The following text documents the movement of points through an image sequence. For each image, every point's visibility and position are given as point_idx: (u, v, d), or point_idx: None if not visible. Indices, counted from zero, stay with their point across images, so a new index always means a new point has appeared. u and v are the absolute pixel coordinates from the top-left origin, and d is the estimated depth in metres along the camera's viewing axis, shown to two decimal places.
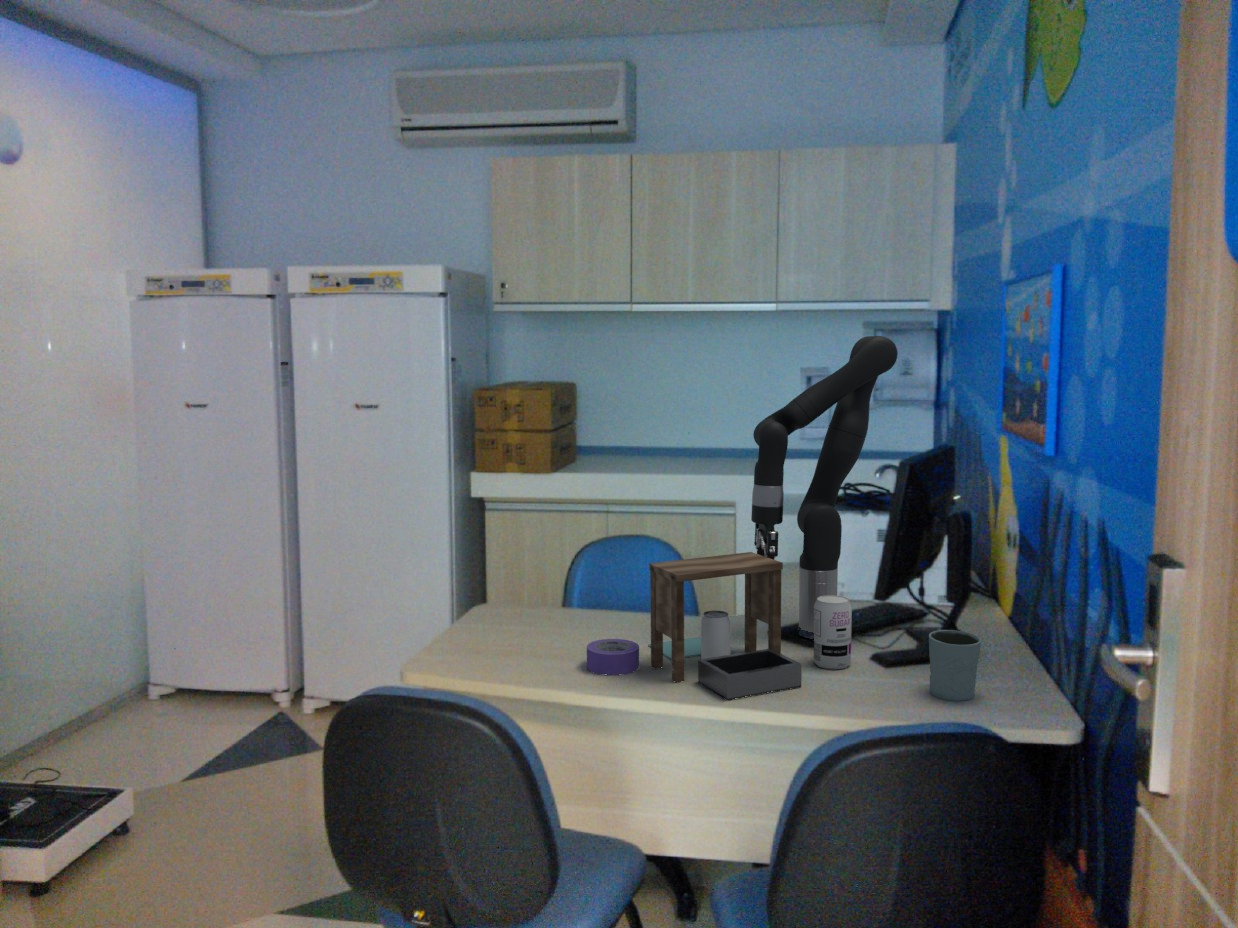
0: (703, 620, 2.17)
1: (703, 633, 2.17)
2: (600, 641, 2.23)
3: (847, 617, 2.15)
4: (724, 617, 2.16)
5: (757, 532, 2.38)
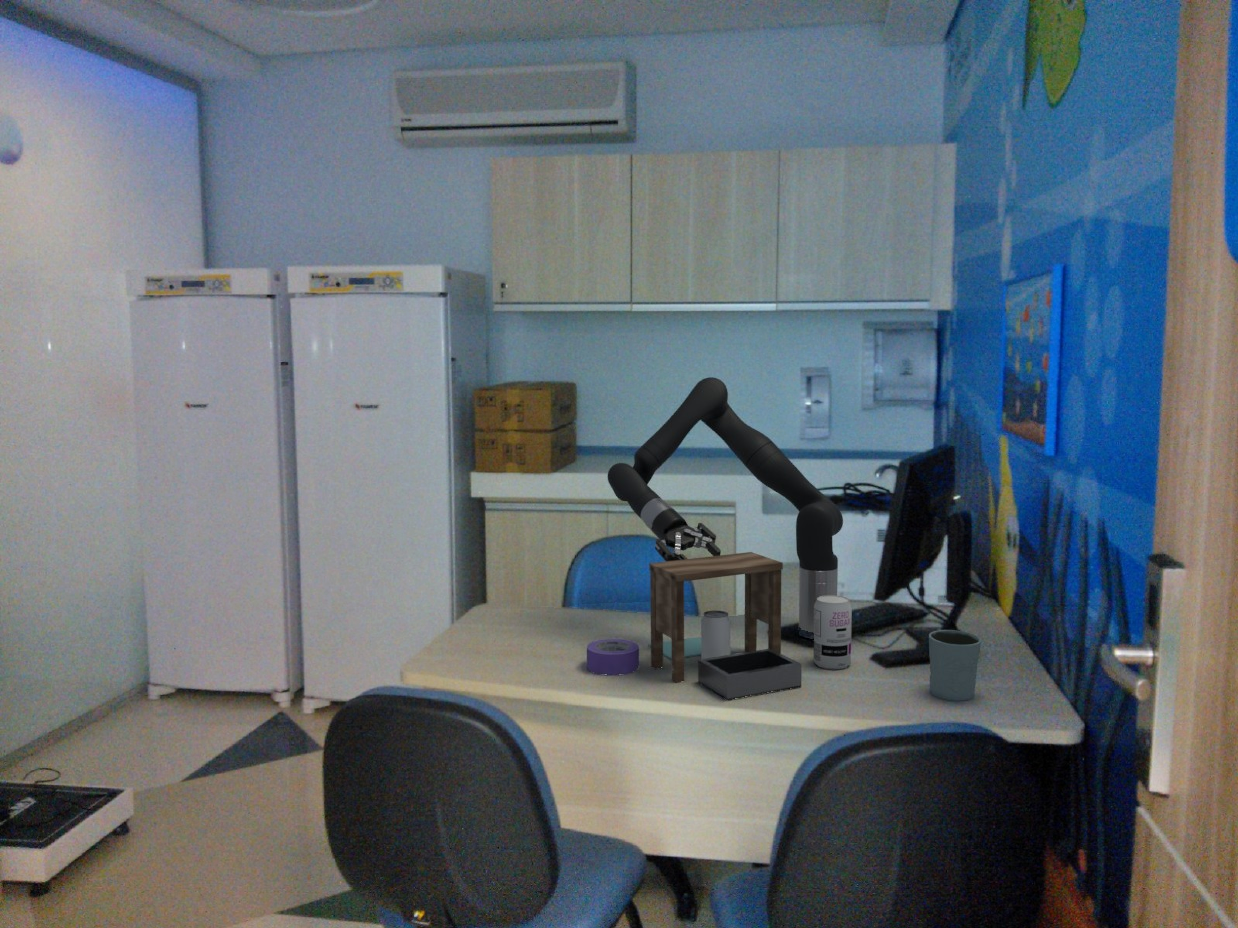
0: (703, 620, 2.17)
1: (703, 633, 2.17)
2: (600, 641, 2.23)
3: (847, 617, 2.15)
4: (724, 617, 2.16)
5: (679, 533, 2.28)
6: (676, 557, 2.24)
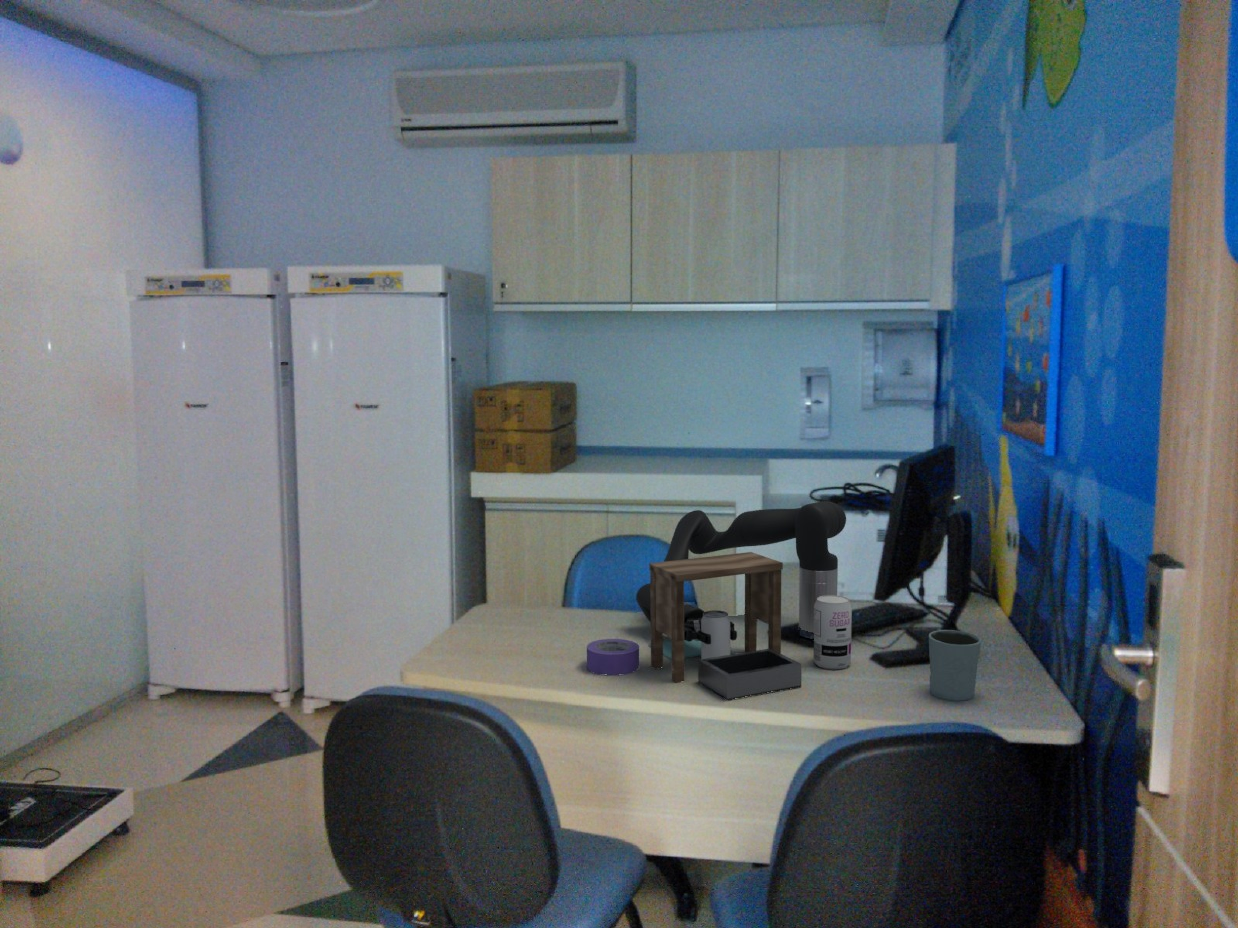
0: (703, 620, 2.17)
1: None
2: (600, 641, 2.23)
3: (847, 617, 2.15)
4: (724, 617, 2.16)
5: (697, 619, 2.24)
6: (697, 634, 2.18)
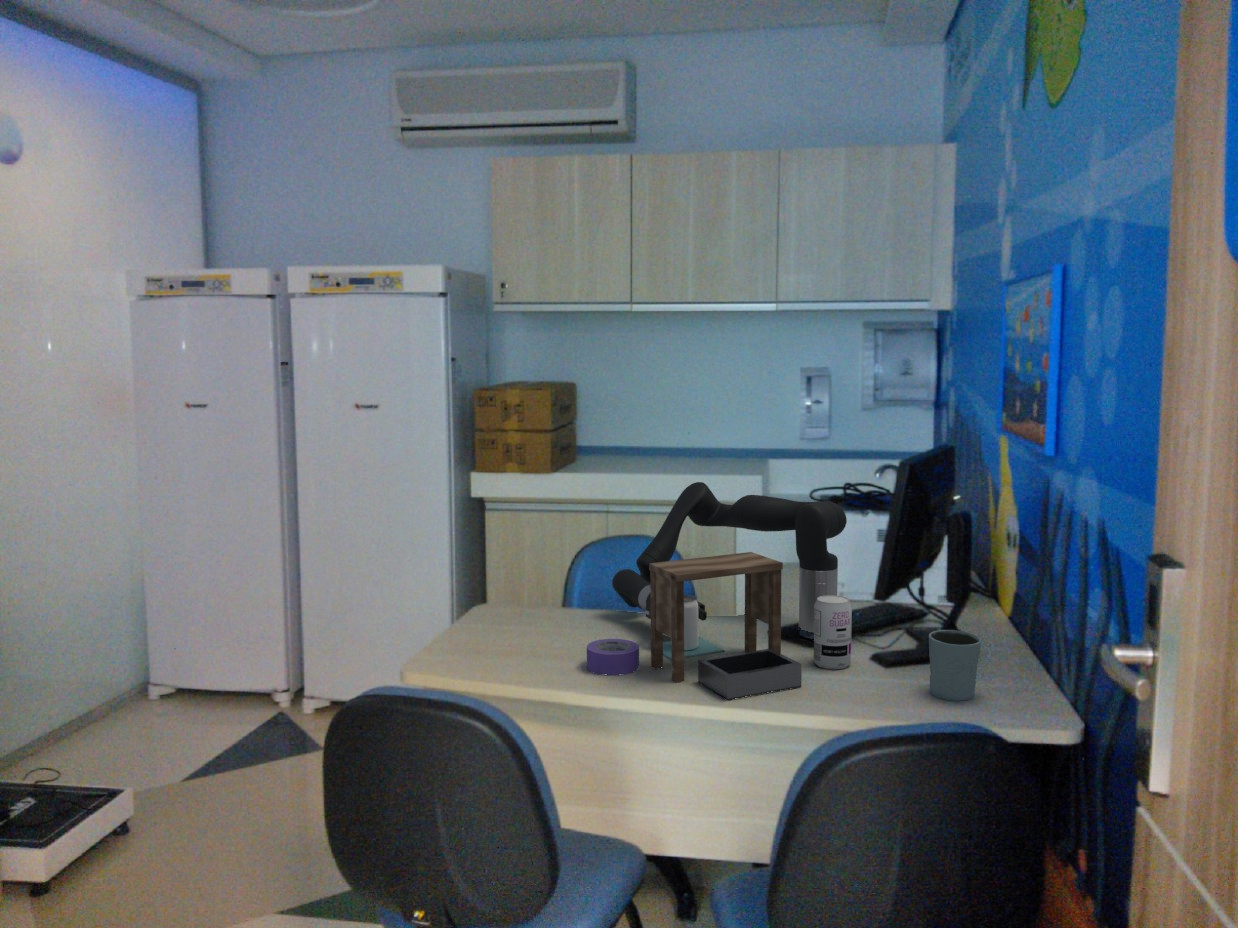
0: None
1: None
2: (600, 641, 2.23)
3: (847, 617, 2.15)
4: (692, 601, 2.29)
5: None
6: None
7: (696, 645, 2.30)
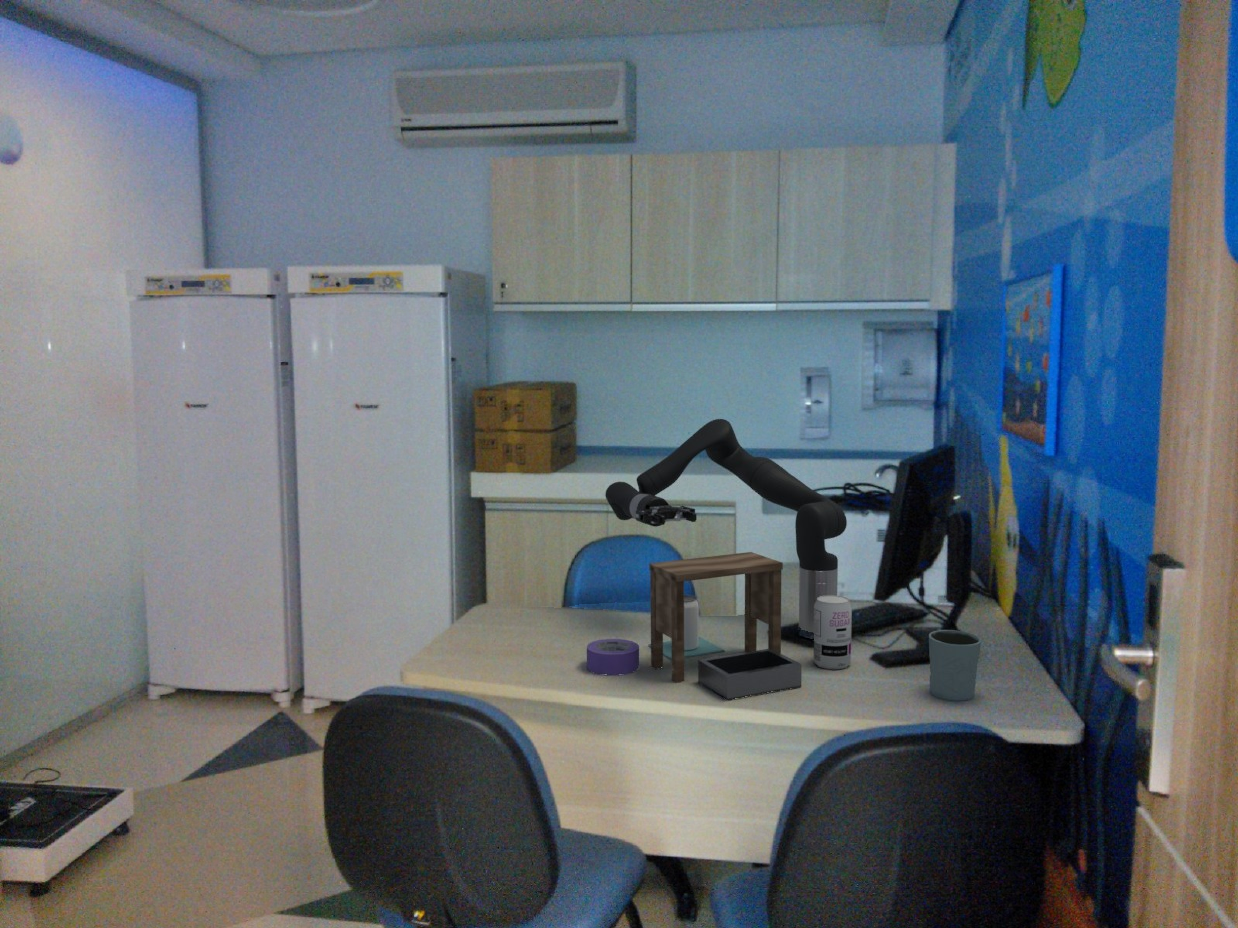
0: None
1: None
2: (600, 641, 2.23)
3: (847, 617, 2.15)
4: (692, 601, 2.29)
5: (658, 506, 2.43)
6: (651, 516, 2.37)
7: (696, 645, 2.30)
